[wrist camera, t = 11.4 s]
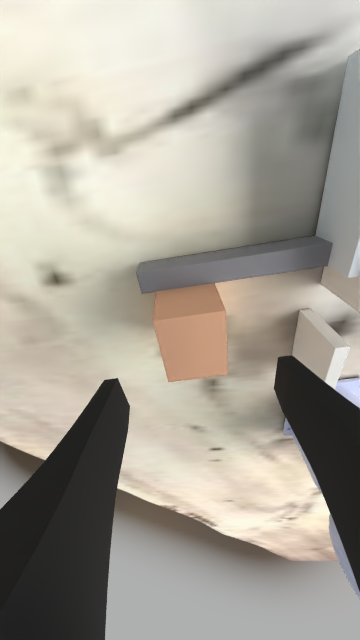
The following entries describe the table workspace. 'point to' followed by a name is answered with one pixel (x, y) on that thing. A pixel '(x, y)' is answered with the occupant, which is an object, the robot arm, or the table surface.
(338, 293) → the white thin slab
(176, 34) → the table surface
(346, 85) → the sliding door
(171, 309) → the block
